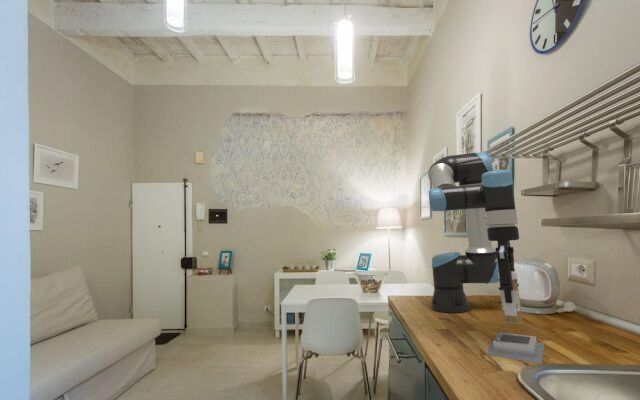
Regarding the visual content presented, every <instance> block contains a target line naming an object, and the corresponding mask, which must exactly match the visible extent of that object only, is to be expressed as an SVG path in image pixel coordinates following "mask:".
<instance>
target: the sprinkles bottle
mask: <svg viewBox="0 0 640 400" xmlns="http://www.w3.org/2000/svg"><path fill="white" fill-rule="evenodd" d="M511 274H512V285H513V290H514V295H515V303H516V312H517V316H509V315H505V313H504V304H503V295H502V290H499V291H500V299H501V301H500V302H501V308H502V315H503V322H504V323H506V324H508V325H509V324H510V325H521V324H523V317H522V305H521V300H520V291H519V287H518V284H519V283H518V279H519V278H518V273H517V271H511ZM498 278H499V272H498ZM498 283H500V278H499V282H498Z"/></svg>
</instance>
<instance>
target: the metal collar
mask: <svg viewBox="0 0 640 400" xmlns="http://www.w3.org/2000/svg"><path fill="white" fill-rule="evenodd" d="M492 342H493V344H494V351H495V352H502V353H509V354H516V355H522V356H529V357H535V355H536V349H537V336H535V335H525V334H517V333H510V332H499V331H498V332H497V334H496V335H495V337H494V339H493V341H492Z"/></svg>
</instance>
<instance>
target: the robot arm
mask: <svg viewBox="0 0 640 400" xmlns="http://www.w3.org/2000/svg"><path fill="white" fill-rule="evenodd" d="M427 173H428V175H427V176H428V180H429V182H430V183H431V184H432V188H430V189H429V190H428V201H429V209H430V210H431V212H446V211H447V212H448V211H461V210H465V218H466V219H465V220H466V221H465V222H466V230H467V240H468V242H467V243H468V247H467V248H466V249H465V254H464V255H463V254H461V252H459V251H454V252H444V253H440V254H436V255H434V256H433V257H432V258H431V268H432V278H433V295H432V298H431V302H430V303H431V306H430V307H431V309H432V310H433V311H436V312H440V313H449V314H450V313H451V314H454V313H455V314H456V313H466V312H469V311H470V310H471V306H470V305H471V304H470V302H469V299H468V298H467V295H466V292H465V290H464V289H465V288H464V284H487V285H488V284H498V283H499V286H498V291H500V290H502V295H503V304H504V313H505V315H509V316H517V312H516V303H515V295H514V290H513V285H512V274H511V271H515V270H516V269H515V257H514V252H515V250H514V246H511V242H510V241H518V240H520V233H519V227H518V226H516V225H517V224H518V215H517V210H516V202H515V194H514V192H515V191H514V181H513V177H512V173H511V172H510V170H507V169H496V170H494V165H493V162H492V160H491V157H490V156H489V154H488V153H486V152H485V151H483V152H481V151H480V152H471V153H469V152H468V153H462V154H455V155H446V156H444V157H441V158H440V159H438V160H436V161H435V162H433V164H431V166H430V167H429V169H428V172H427ZM456 183H458V185H456ZM492 242H497V247H495V248H494V247H493V245H492ZM498 272H499V278H500V282H499V278H498ZM515 272H516V271H515ZM517 284H518V288H519V286H520V283H517Z"/></svg>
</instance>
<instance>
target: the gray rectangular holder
mask: <svg viewBox="0 0 640 400" xmlns="http://www.w3.org/2000/svg"><path fill="white" fill-rule="evenodd" d="M544 349H545V343H544V342H539V341H538V342H537V349H536V355H535V357H529V356H522V355H516V354H509V353H502V352H495V351H494V344H493V341H492V342H491V345H490V346H489V348H488V350H487V352H486V353H485V356H490V357H498V358H502V359H510V360H518V361H522V362H529V363H536V364H540V365H541V364H542V363H543V356H544Z"/></svg>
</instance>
